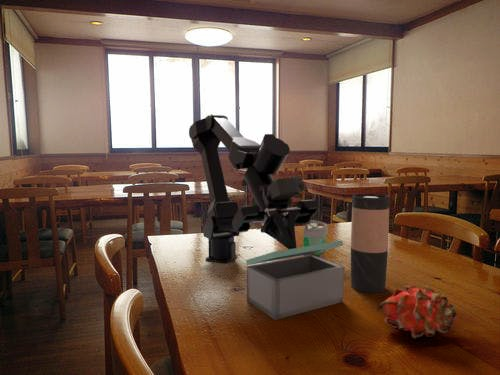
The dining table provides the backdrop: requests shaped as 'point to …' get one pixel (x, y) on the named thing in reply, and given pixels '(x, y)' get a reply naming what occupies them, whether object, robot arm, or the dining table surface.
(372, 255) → the travel mug
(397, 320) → the dragon fruit
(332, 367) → the dining table surface
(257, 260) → the mint green lid
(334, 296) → the grey rectangular box
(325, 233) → the food container
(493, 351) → the dining table surface
